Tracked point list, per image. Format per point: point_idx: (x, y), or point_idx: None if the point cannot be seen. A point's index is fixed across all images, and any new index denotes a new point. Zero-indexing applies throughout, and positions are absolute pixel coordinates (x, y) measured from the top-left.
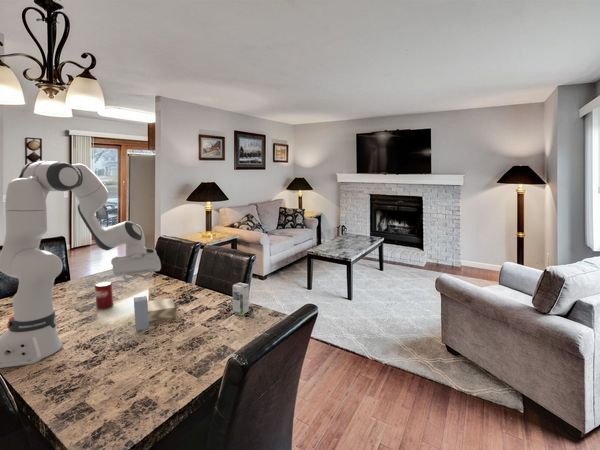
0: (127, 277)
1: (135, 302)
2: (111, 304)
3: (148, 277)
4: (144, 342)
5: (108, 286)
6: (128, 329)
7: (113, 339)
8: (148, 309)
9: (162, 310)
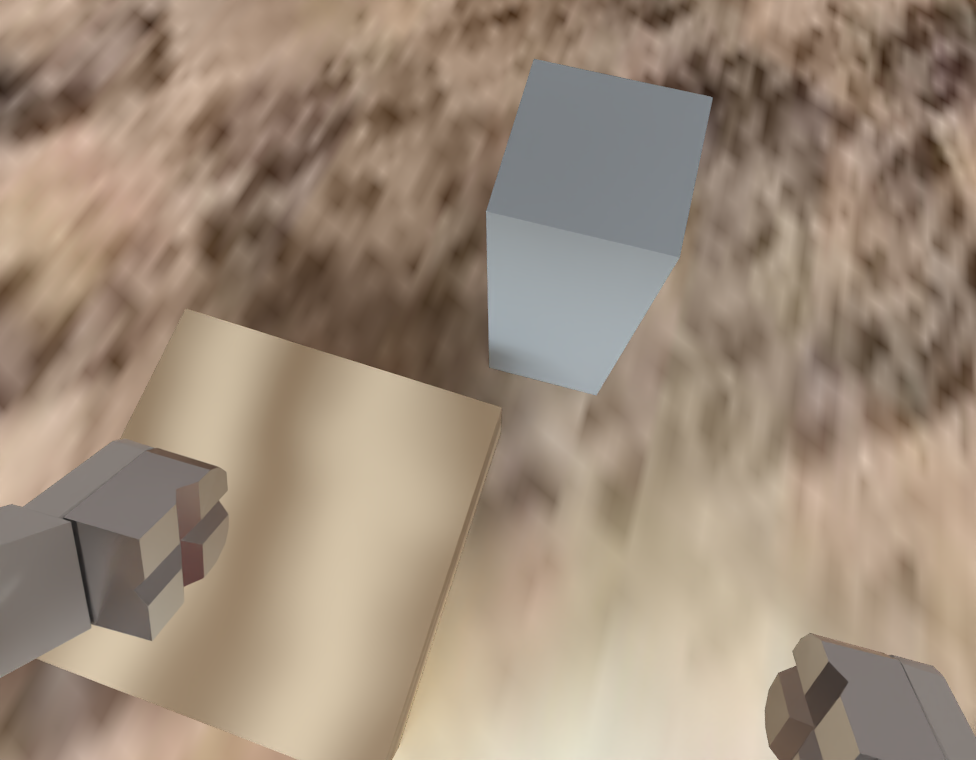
0: (892, 757)
1: (691, 101)
2: None
3: (193, 470)
4: None
5: None
6: (664, 368)
7: (804, 265)
8: (430, 451)
9: (314, 351)
